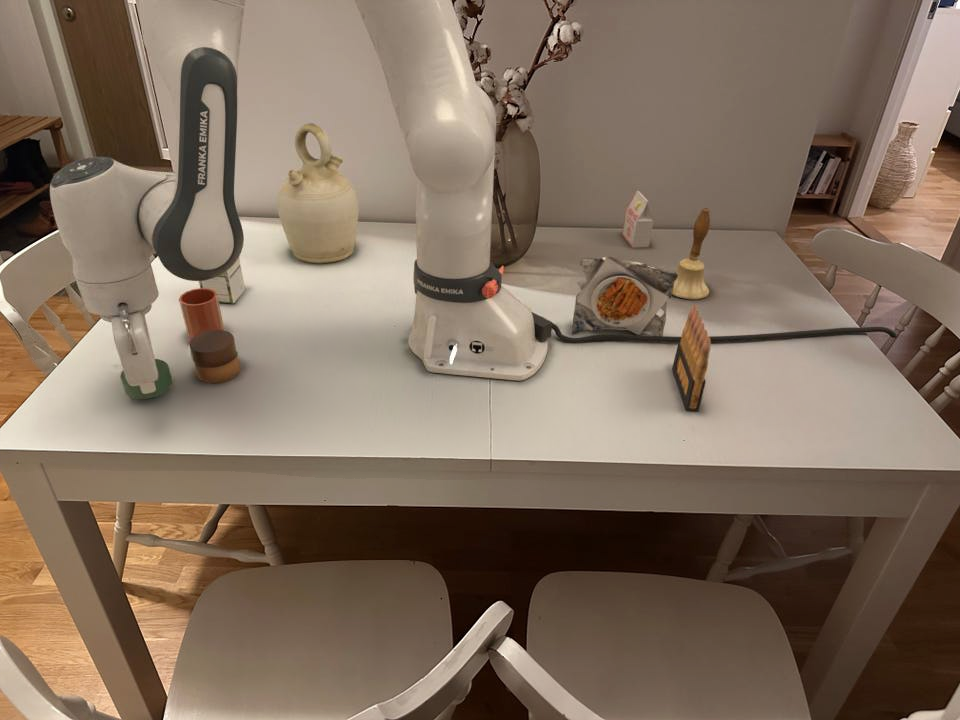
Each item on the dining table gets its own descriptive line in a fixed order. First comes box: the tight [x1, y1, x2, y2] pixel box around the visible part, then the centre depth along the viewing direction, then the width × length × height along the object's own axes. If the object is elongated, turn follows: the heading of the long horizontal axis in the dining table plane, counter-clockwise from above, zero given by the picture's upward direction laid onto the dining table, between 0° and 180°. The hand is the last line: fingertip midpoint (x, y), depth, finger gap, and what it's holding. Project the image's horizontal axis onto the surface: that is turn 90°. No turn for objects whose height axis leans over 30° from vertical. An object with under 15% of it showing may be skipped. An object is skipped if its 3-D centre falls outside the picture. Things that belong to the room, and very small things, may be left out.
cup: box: [178, 287, 225, 341], centre depth 109 cm, size 6×6×7 cm
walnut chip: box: [188, 329, 238, 367], centre depth 101 cm, size 6×6×3 cm
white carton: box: [621, 190, 654, 249], centre depth 145 cm, size 4×7×10 cm, turn 8°
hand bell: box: [672, 207, 711, 301], centre depth 125 cm, size 8×8×16 cm
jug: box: [277, 122, 360, 264], centre depth 132 cm, size 15×16×25 cm
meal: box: [571, 256, 678, 336], centre depth 112 cm, size 15×4×13 cm, turn 81°
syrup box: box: [198, 257, 246, 304], centre depth 118 cm, size 6×6×14 cm
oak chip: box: [193, 349, 241, 384], centre depth 102 cm, size 6×6×3 cm
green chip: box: [119, 358, 173, 400], centre depth 96 cm, size 6×6×3 cm
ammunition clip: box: [671, 304, 712, 412], centre depth 100 cm, size 11×2×12 cm, turn 178°
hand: (146, 375), depth 96 cm, fingers closed on green chip, 6 cm apart
